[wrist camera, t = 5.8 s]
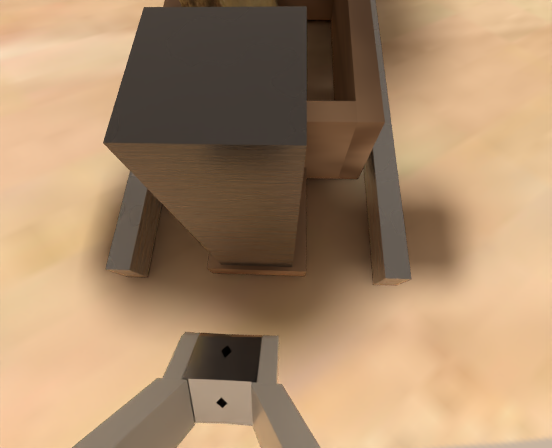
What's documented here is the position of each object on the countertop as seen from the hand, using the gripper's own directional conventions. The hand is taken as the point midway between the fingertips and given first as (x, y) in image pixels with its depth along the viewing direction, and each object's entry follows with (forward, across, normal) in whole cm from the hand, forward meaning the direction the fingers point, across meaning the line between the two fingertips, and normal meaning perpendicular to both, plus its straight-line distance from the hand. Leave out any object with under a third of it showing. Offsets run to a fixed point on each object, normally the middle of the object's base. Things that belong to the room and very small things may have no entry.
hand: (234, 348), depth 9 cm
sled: (+14, 0, -6) cm, 15 cm away
